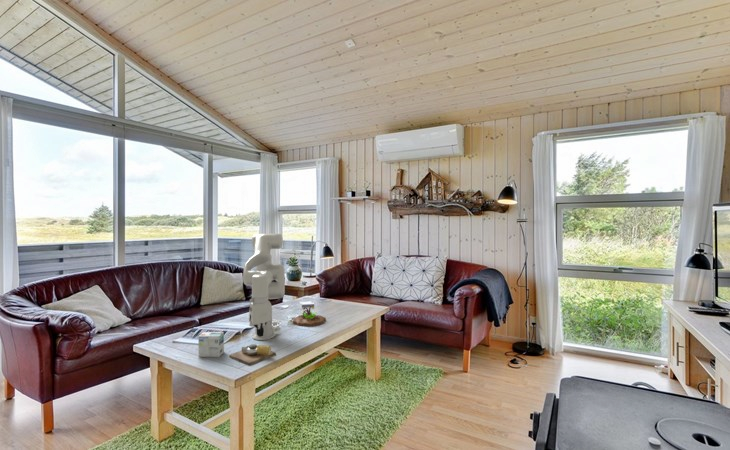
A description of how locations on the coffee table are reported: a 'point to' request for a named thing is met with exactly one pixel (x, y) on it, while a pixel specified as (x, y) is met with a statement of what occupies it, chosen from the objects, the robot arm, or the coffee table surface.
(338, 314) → the coffee table surface
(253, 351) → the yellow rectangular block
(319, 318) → the plant
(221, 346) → the light bulb box
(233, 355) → the wooden cheese board
